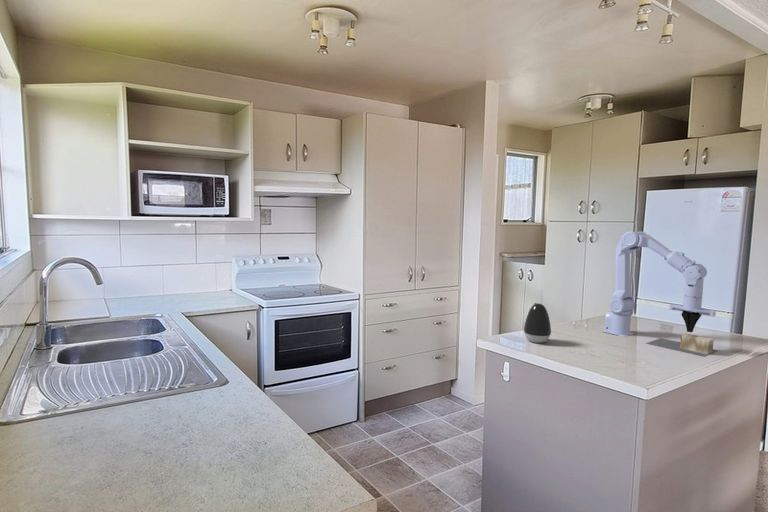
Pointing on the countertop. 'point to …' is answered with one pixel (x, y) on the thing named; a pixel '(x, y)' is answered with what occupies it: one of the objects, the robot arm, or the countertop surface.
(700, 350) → the block
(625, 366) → the countertop surface
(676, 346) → the mat
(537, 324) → the black egg shape
